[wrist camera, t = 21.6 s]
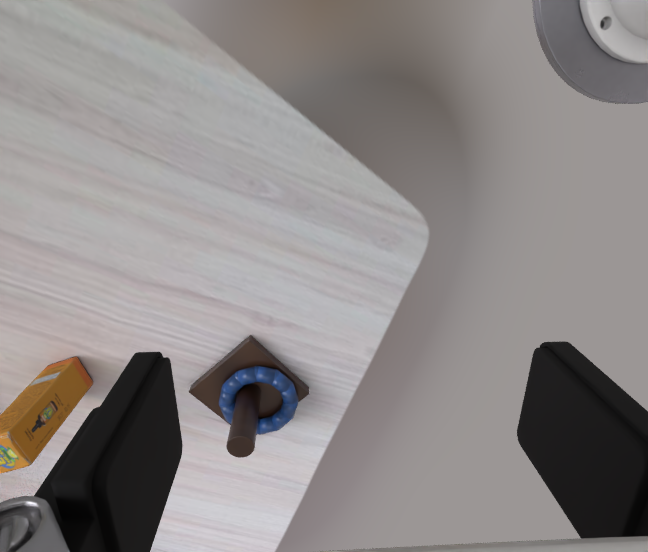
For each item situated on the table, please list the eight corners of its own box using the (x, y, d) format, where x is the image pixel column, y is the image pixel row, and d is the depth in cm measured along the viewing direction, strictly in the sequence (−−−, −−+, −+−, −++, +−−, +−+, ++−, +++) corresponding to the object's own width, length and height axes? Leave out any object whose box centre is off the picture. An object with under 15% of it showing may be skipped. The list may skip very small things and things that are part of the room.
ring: (284, 355, 40) (284, 363, 38) (306, 416, 42) (306, 426, 41) (209, 374, 40) (206, 384, 39) (235, 434, 43) (233, 444, 41)
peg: (250, 335, 40) (239, 387, 32) (309, 387, 42) (311, 447, 35) (190, 385, 42) (167, 446, 34) (250, 433, 44) (241, 499, 37)
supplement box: (43, 365, 40) (-34, 444, 31) (78, 354, 40) (10, 431, 30) (62, 393, 41) (-7, 477, 32) (95, 383, 41) (36, 465, 32)
